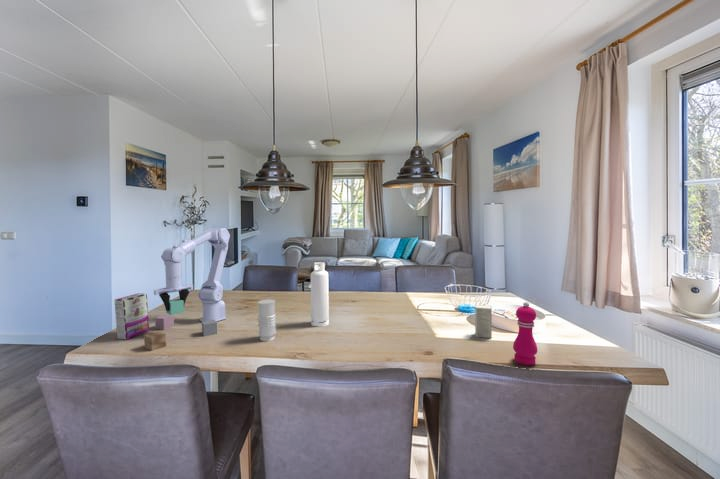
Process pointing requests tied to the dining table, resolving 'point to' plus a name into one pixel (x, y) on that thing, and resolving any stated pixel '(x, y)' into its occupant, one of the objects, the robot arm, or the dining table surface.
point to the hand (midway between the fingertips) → (175, 309)
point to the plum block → (164, 322)
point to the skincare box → (483, 321)
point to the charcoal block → (209, 327)
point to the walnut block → (155, 340)
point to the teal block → (176, 306)
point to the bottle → (319, 295)
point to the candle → (267, 320)
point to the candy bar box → (131, 316)
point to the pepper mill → (525, 336)
